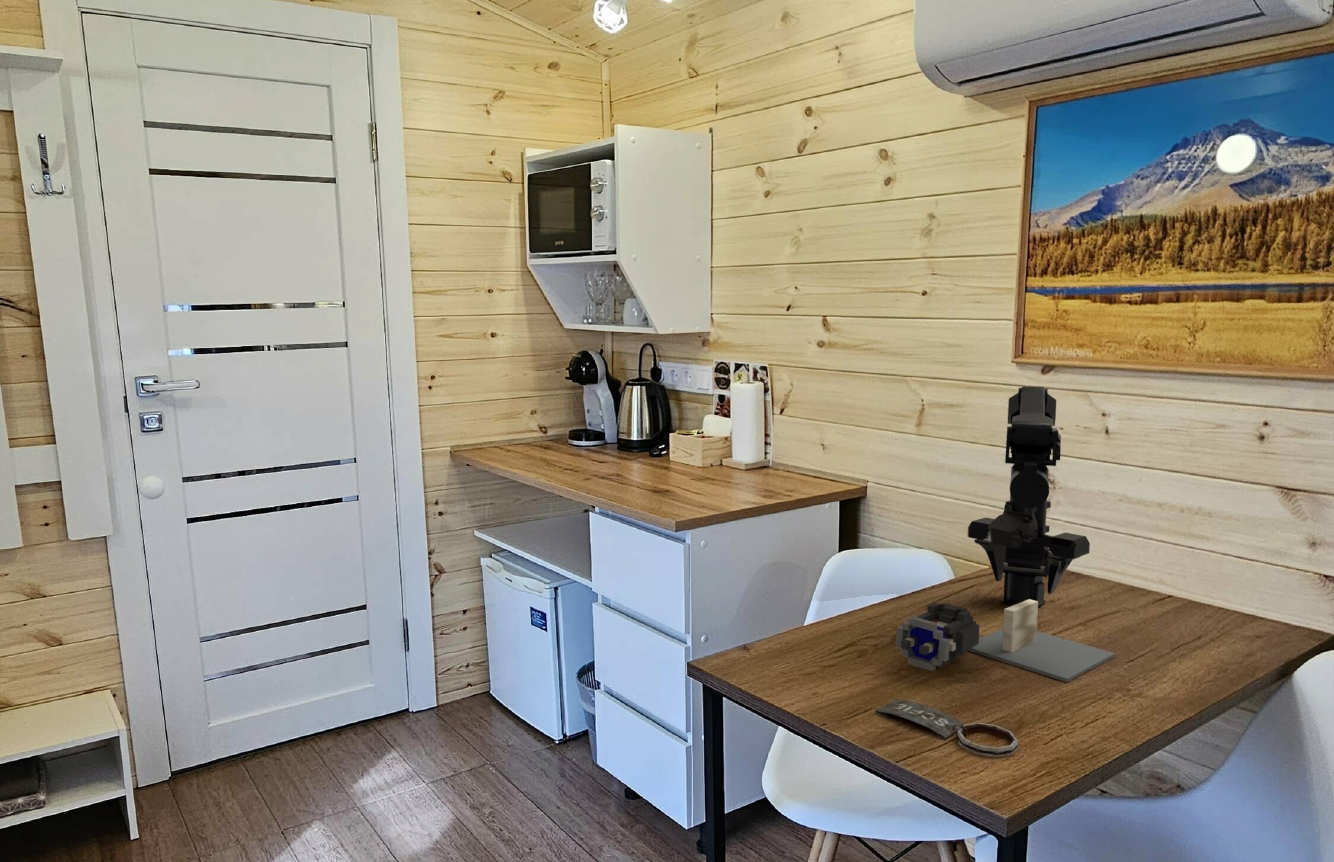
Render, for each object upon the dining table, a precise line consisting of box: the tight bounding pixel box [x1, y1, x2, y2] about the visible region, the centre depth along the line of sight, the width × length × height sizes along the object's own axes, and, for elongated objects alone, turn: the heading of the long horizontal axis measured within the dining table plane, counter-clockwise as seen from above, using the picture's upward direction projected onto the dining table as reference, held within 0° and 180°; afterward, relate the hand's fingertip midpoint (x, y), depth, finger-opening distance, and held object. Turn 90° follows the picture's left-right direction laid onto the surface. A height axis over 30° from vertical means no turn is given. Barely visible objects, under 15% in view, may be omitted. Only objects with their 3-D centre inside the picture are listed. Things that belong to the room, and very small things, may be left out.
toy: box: [895, 602, 980, 672], centre depth 142 cm, size 9×9×15 cm
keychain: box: [874, 698, 1019, 758], centre depth 120 cm, size 8×19×2 cm, turn 43°
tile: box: [1002, 599, 1039, 652], centre depth 149 cm, size 8×2×7 cm, turn 129°
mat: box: [967, 628, 1116, 683], centre depth 147 cm, size 18×16×1 cm
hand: (1023, 587), depth 148 cm, fingers open, 9 cm apart
